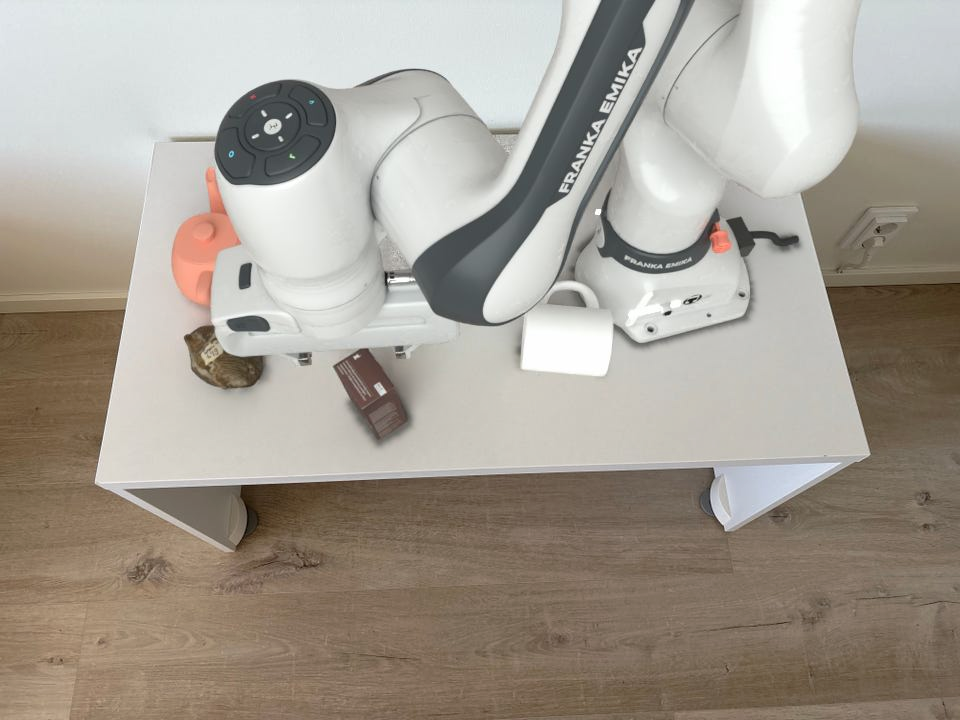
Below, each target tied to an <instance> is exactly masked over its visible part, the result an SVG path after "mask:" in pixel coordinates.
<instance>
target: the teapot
mask: <svg viewBox="0 0 960 720" xmlns="http://www.w3.org/2000/svg"><path fill="white" fill-rule="evenodd" d="M205 182H206V183H205V184H206V188H207V189H206V190H207V194H208V202H209V212H204V213H200V214H196V215H193V216H191V217H189V218H188V219H186V220H185V221H184V222H183V223H181V224H180V226H179V228H178V229H177V231H176V235H175V236H174V240H173V244H172V249H171V259H170V263H171V271H172V276H173V279H174V281H175V284H176V286H177V288H178V290H179V291H180V292H181V294H182V295H183V296H184V297H185V298H186V299H188V300H189V301H190V302H193V303H195V304H198V305H200V306H203V307H209V308H211V285H212V277H213V271H214V266H215V262H216V258H217V254H218V252H219V251H221V250H223V249H226V248H229V247H233V246H236V245H240V244H241V242H240V240H239V238H238V236H237V234H236V232H235V230H234V228H233V226H232V223H231V221H230V219H229V217H228V214H227V212H226V209H225V207H224V204H223V201H222V198H221V195H220V192H219V189H218V185H217V181H216V175H215V170H214V167H212V166H210V167H208V168H207V169H206V172H205Z"/></svg>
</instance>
